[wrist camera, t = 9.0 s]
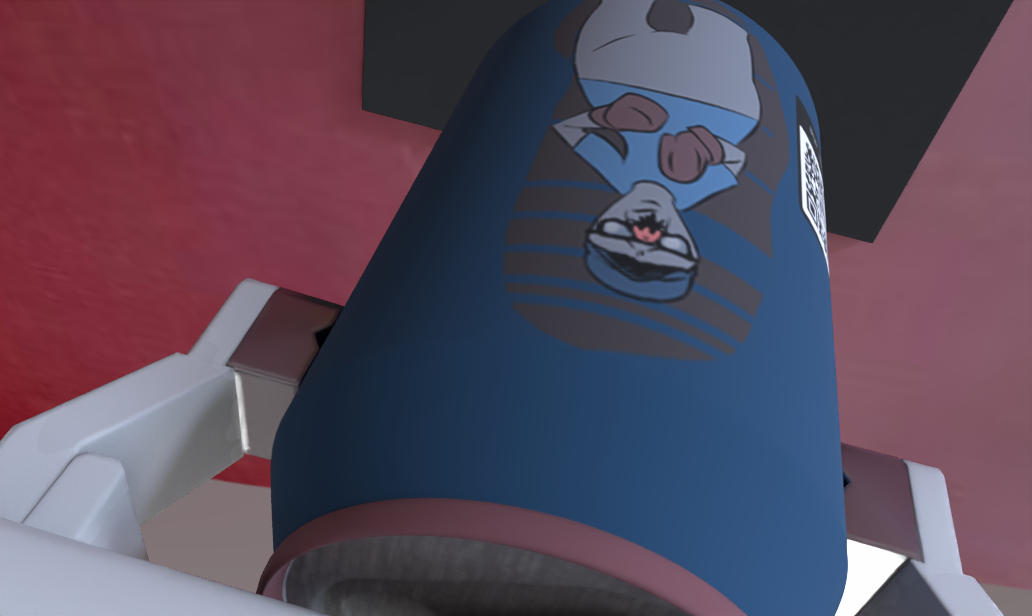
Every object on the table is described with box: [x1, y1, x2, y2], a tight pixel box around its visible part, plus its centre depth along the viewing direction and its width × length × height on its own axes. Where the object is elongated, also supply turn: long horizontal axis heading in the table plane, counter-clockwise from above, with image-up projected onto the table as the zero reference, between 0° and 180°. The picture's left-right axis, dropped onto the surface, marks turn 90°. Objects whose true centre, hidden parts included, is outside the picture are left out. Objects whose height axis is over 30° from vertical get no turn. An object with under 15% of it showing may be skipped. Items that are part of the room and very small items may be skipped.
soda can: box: [256, 0, 849, 616], centre depth 13 cm, size 7×7×12 cm
